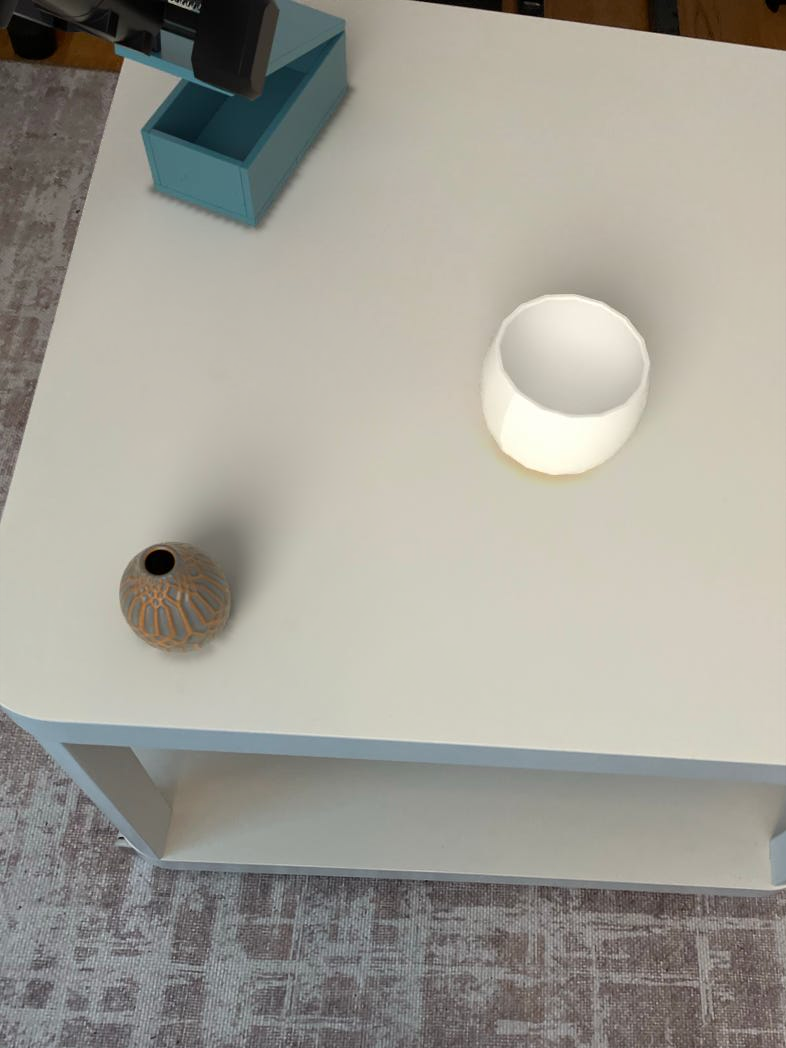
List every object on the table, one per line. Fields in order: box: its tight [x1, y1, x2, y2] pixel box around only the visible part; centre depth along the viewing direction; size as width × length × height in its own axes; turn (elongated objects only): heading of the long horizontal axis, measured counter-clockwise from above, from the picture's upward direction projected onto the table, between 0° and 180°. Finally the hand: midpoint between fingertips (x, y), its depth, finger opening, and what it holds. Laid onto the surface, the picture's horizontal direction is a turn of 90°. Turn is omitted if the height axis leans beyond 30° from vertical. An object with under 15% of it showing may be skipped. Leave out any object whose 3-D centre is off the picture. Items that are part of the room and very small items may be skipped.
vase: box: [118, 541, 232, 654], centre depth 59 cm, size 7×7×9 cm
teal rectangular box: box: [140, 29, 348, 227], centre depth 79 cm, size 19×9×6 cm, turn 159°
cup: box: [478, 293, 652, 476], centre depth 68 cm, size 12×12×10 cm
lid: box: [114, 0, 347, 96], centre depth 72 cm, size 21×9×4 cm, turn 159°
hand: (192, 38), depth 67 cm, fingers open, 9 cm apart
